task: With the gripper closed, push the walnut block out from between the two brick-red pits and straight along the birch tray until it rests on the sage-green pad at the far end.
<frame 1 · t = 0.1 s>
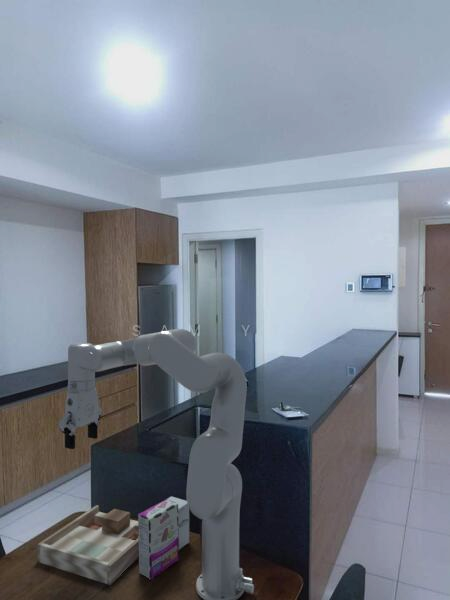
hand: (81, 442, 132), 31 cm above the table, tool pointing down, fingers open, 9 cm apart
walnut block: (116, 527, 137), point 3 cm above the table, touching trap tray
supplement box: (172, 545, 134), on the table
candy bar box: (158, 567, 123), on the table
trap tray: (102, 548, 132), on the table
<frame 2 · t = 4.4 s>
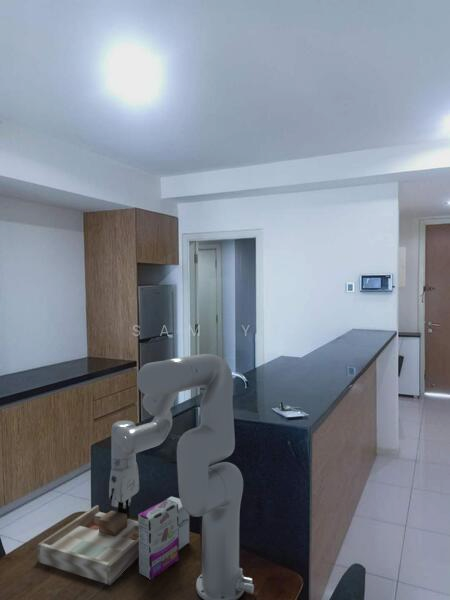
hand: (123, 518, 141), 4 cm above the table, tool pointing down, fingers closed
walnut block: (113, 529, 136), point 3 cm above the table, touching gripper
everything else where it was.
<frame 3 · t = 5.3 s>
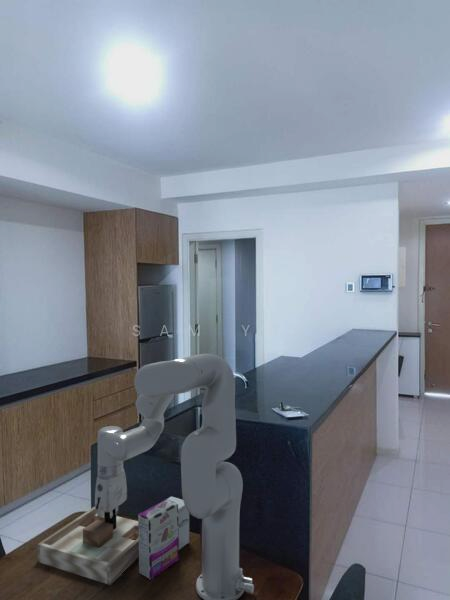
hand: (110, 528, 135), 4 cm above the table, tool pointing down, fingers closed
walnut block: (97, 540, 130), point 3 cm above the table, touching gripper, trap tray
everything else where it was.
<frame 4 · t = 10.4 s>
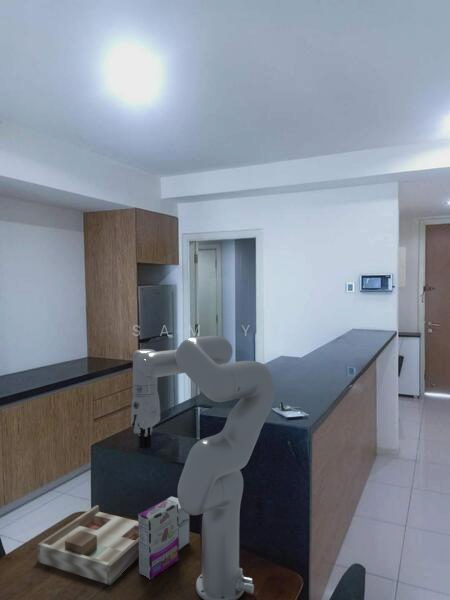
hand: (145, 447, 139), 27 cm above the table, tool pointing down, fingers closed
walnut block: (81, 552, 124), point 3 cm above the table, touching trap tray
everything else where it was.
at the end: walnut block inside the target area on the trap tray (1.4 cm from its centre), point 3.0 cm above the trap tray's base; walnut block tilted 0° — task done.
